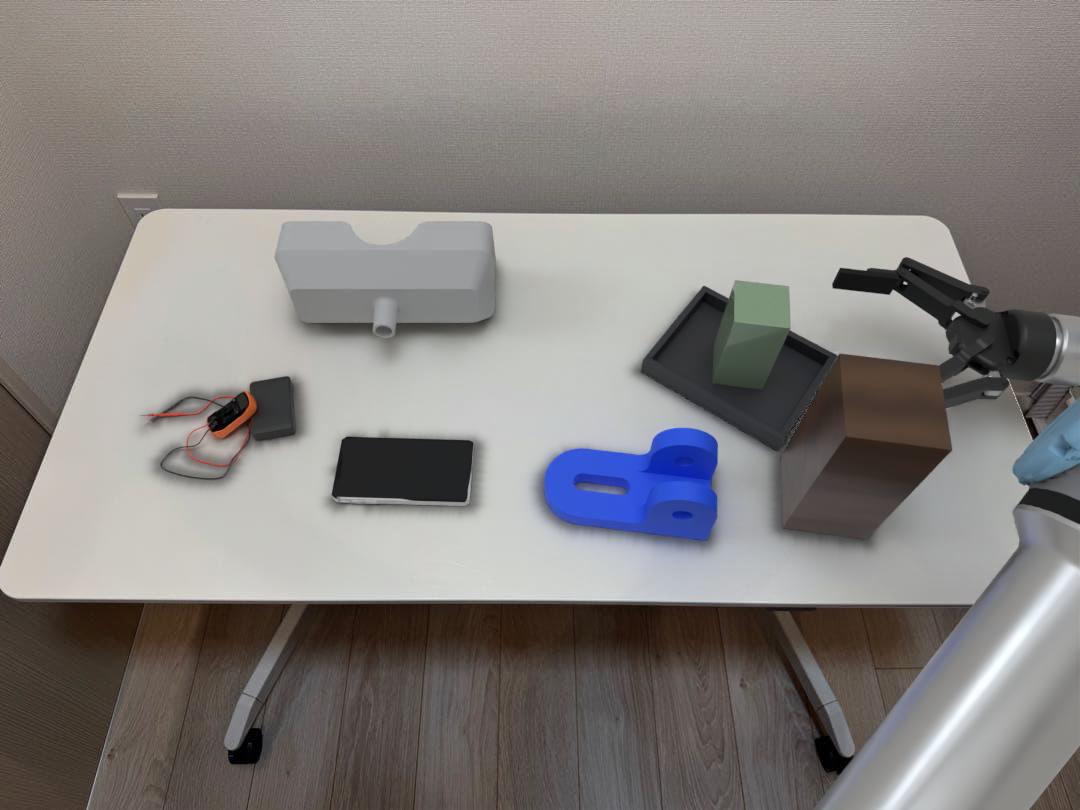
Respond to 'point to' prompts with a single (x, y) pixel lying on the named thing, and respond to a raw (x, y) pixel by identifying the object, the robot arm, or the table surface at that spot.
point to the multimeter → (249, 414)
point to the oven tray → (756, 412)
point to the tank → (389, 274)
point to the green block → (751, 334)
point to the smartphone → (404, 471)
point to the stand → (863, 445)
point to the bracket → (641, 486)
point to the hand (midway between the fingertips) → (839, 324)
